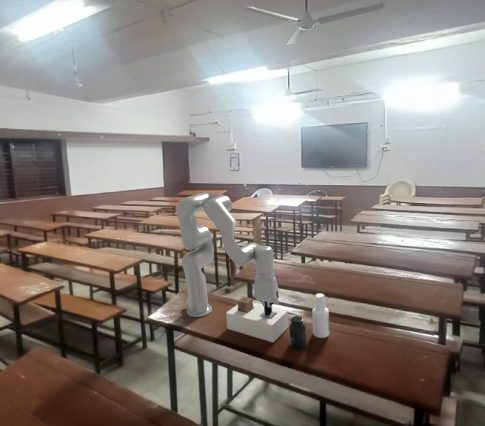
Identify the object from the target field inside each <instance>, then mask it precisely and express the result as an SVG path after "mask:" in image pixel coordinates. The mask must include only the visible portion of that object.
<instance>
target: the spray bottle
mask: <svg viewBox="0 0 485 426" xmlns="http://www.w3.org/2000/svg"><path fill="white" fill-rule="evenodd" d="M325 301H326V299H325V294H324V293H316V294H315V305H314V308H312V310H311V313H312V314H311V316H312V334H313V336H314V337H316V338H319V339H325V338H327V337H329V336H330V311H329V309H328V308H327V307H326V302H325Z"/></svg>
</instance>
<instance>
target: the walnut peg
mask: <svg viewBox="0 0 485 426" xmlns="http://www.w3.org/2000/svg"><path fill="white" fill-rule="evenodd" d="M253 302H254V301H253V298H251V297H247V296H242V297H240V298H239V299H238V300H237V302H236V305H237V304H238V311H241V312H245V313H248V312H250V311H251V310H252V309H253Z"/></svg>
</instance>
